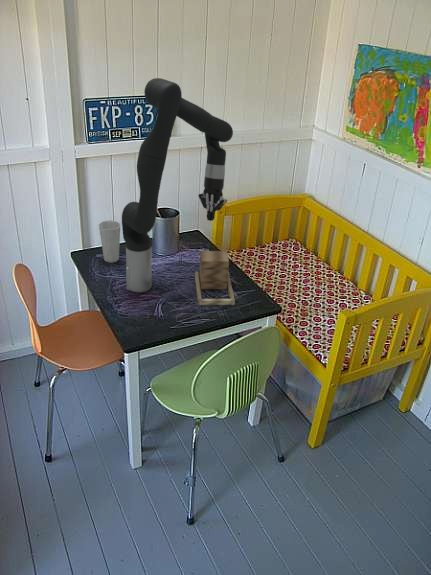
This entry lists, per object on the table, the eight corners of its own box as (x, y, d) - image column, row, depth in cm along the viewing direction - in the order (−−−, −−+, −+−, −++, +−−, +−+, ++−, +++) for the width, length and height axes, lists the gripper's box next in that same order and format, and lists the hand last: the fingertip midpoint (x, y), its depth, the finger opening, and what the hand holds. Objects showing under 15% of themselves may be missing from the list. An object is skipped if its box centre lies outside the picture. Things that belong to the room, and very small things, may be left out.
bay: (191, 308, 197) (191, 301, 195) (188, 278, 214) (188, 271, 213) (240, 307, 199) (241, 301, 197) (234, 278, 216) (234, 271, 215)
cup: (118, 253, 229) (117, 219, 220) (124, 262, 222) (123, 228, 214) (98, 256, 226) (96, 221, 217) (103, 265, 219) (101, 230, 211)
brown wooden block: (200, 289, 206) (201, 261, 199) (199, 278, 213) (200, 250, 206) (227, 289, 207) (229, 261, 200) (224, 278, 214) (226, 250, 207)
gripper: (195, 173, 209) (191, 217, 215) (222, 179, 201) (217, 225, 207) (207, 172, 214) (203, 215, 220) (234, 178, 207) (229, 222, 213)
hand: (210, 220), depth 214 cm, fingers closed
